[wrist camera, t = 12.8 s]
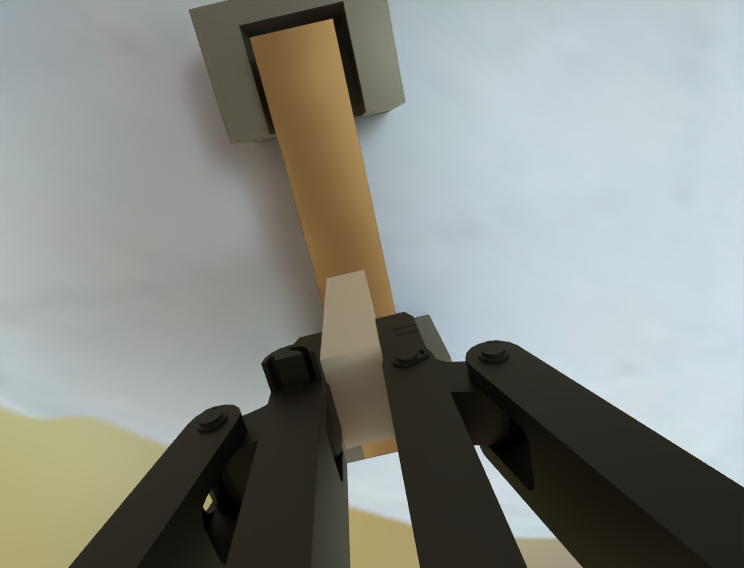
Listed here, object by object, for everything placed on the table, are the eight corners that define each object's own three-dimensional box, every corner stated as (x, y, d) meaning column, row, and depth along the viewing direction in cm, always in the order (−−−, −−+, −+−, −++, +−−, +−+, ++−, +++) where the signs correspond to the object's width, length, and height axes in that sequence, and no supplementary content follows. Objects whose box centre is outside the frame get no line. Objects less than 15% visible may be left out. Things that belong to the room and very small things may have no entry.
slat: (334, 47, 23) (332, 18, 18) (408, 388, 31) (423, 445, 25) (271, 61, 23) (249, 37, 18) (360, 399, 31) (365, 458, 25)
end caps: (370, 7, 25) (380, -36, 19) (441, 380, 33) (464, 436, 27) (226, 41, 25) (188, 9, 19) (333, 405, 33) (331, 466, 27)
